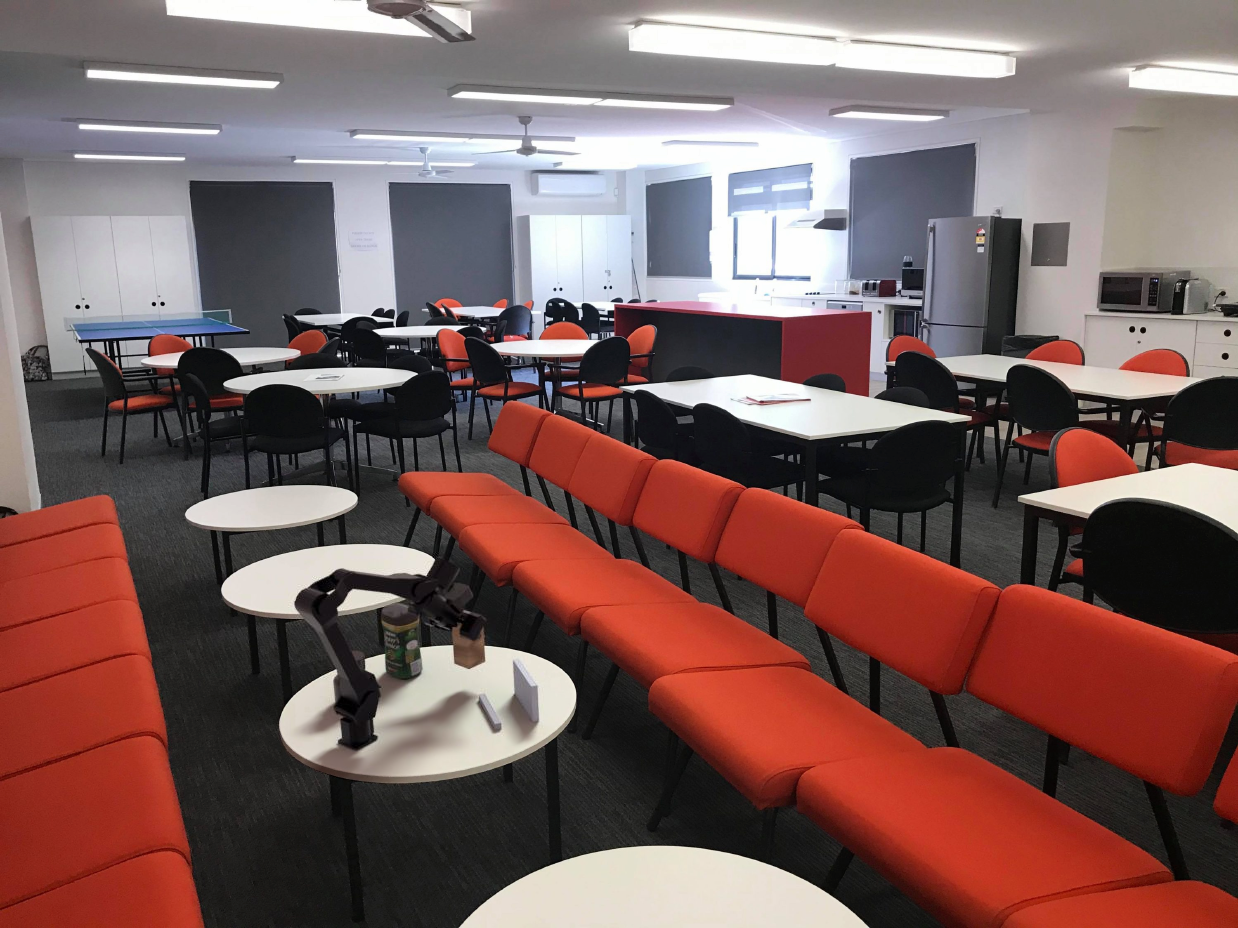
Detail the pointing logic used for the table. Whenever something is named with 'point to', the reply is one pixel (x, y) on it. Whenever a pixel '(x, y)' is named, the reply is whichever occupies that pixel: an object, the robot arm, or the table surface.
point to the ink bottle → (336, 682)
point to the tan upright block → (467, 648)
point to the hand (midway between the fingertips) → (472, 634)
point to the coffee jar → (401, 641)
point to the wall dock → (524, 692)
